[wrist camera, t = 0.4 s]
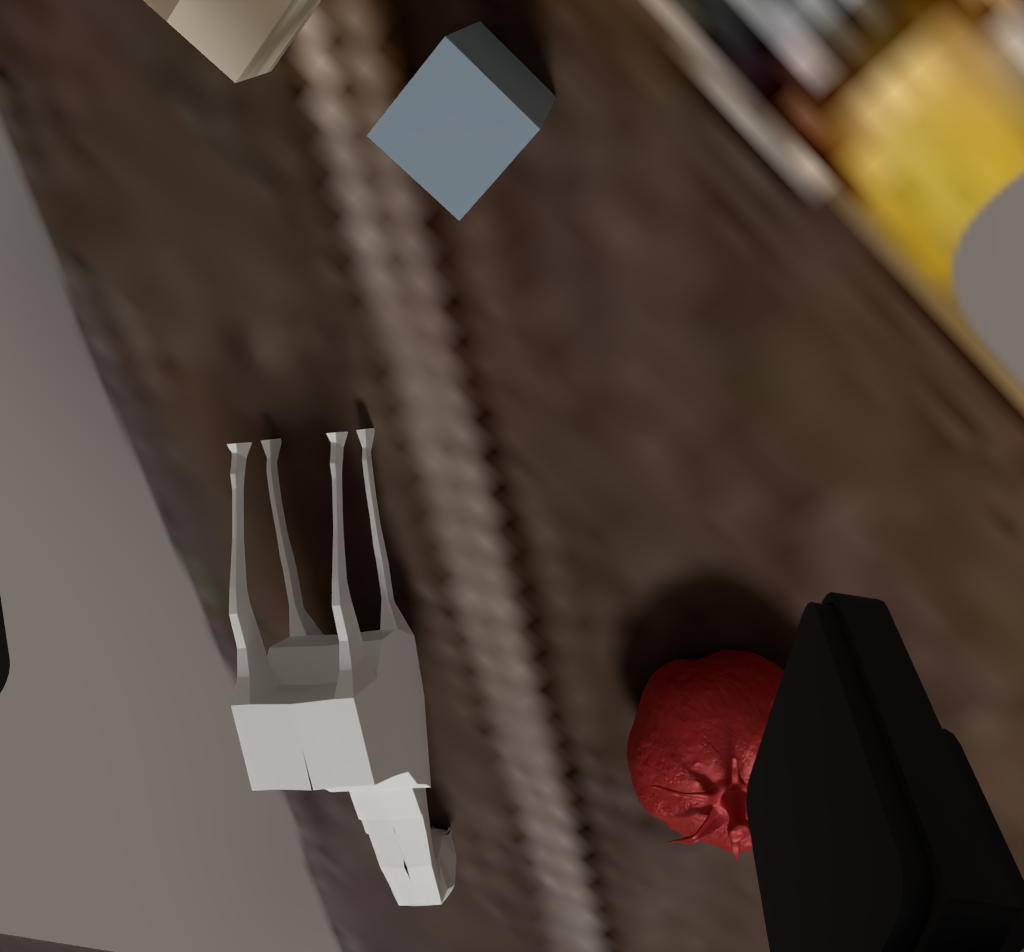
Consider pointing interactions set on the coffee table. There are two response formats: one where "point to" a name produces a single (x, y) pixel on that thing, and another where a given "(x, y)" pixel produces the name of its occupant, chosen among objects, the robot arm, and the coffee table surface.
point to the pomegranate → (702, 744)
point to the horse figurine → (339, 696)
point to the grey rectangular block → (463, 117)
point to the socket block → (238, 30)
